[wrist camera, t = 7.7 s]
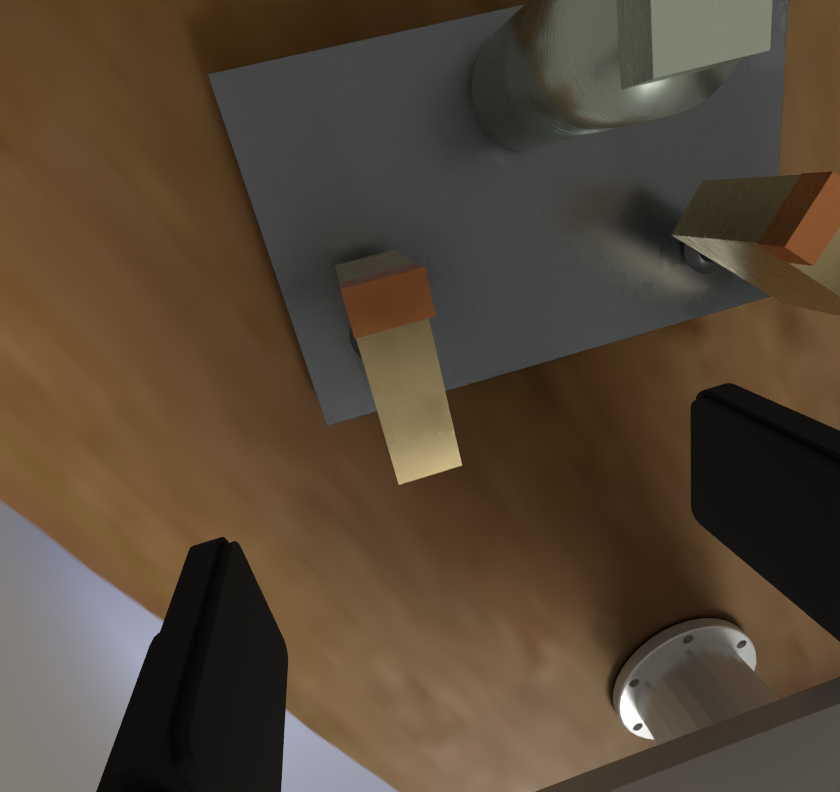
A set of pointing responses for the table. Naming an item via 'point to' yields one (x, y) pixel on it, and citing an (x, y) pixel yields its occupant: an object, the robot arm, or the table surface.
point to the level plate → (509, 173)
